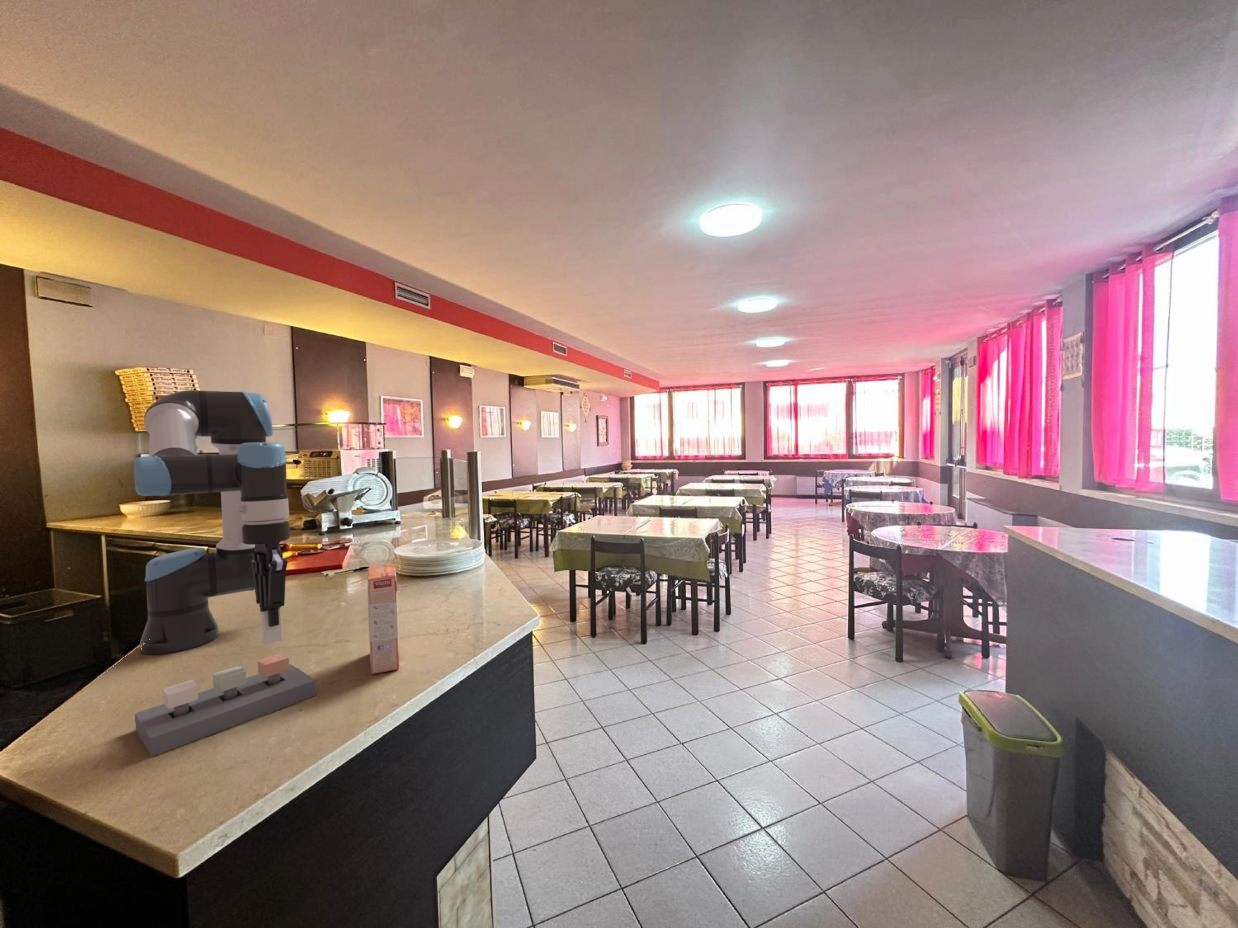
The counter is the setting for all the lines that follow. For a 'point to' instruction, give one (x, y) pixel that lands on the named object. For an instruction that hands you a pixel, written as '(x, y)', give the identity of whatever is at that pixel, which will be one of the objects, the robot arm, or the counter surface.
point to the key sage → (229, 681)
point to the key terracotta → (273, 667)
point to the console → (221, 710)
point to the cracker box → (383, 618)
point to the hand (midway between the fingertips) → (272, 641)
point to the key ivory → (180, 697)
